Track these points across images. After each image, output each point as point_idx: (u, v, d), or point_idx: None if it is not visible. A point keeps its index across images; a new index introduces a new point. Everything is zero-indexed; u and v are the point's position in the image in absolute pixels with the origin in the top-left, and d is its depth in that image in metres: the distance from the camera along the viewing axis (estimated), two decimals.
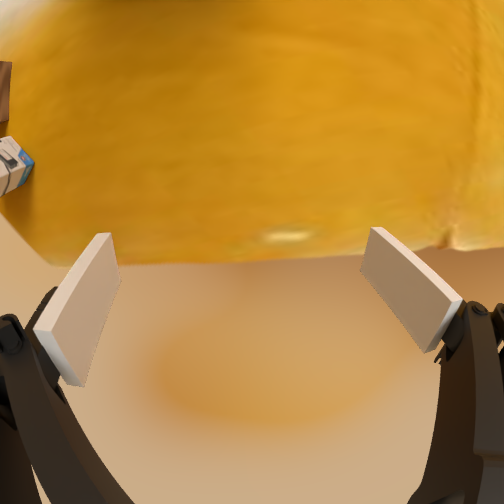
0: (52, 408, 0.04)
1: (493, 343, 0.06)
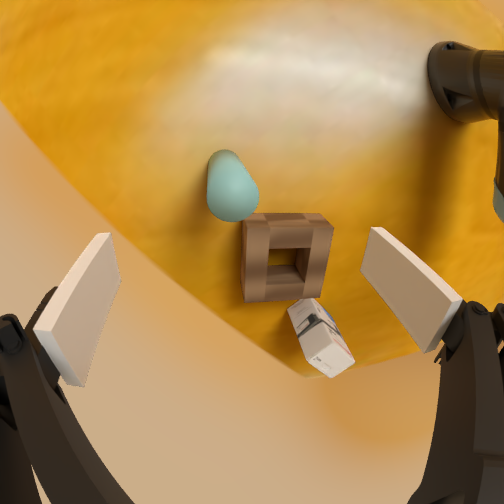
0: (52, 408, 0.04)
1: (493, 343, 0.06)
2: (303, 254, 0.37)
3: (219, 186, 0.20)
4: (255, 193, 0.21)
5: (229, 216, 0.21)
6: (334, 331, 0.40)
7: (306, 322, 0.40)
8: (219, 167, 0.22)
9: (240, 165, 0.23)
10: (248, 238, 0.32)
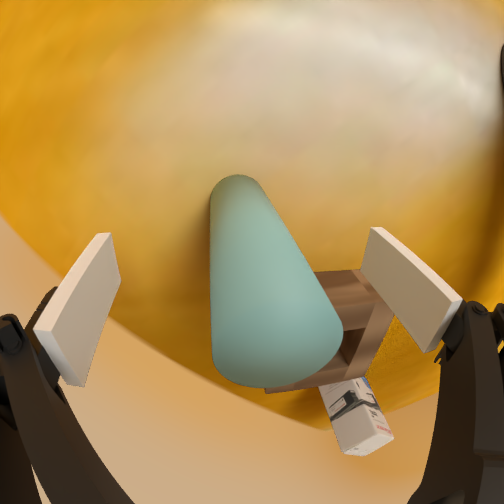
0: (52, 408, 0.04)
1: (493, 343, 0.06)
2: None
3: (246, 333, 0.07)
4: (335, 337, 0.08)
5: (267, 380, 0.08)
6: (374, 408, 0.27)
7: (342, 402, 0.27)
8: (238, 249, 0.09)
9: (285, 236, 0.11)
10: None
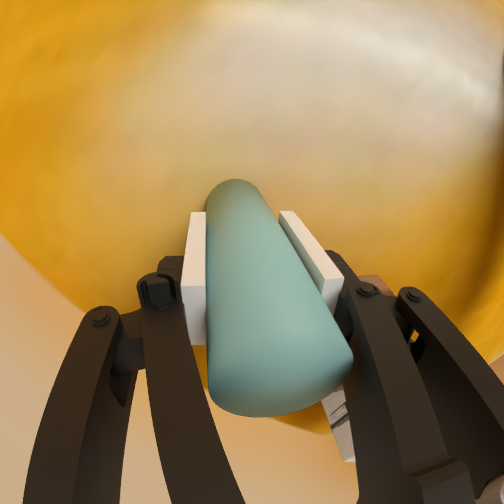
0: (198, 373, 0.06)
1: (394, 327, 0.07)
2: None
3: (246, 369, 0.06)
4: (344, 367, 0.07)
5: (269, 411, 0.07)
6: None
7: (343, 410, 0.26)
8: (236, 268, 0.08)
9: (287, 252, 0.10)
10: None
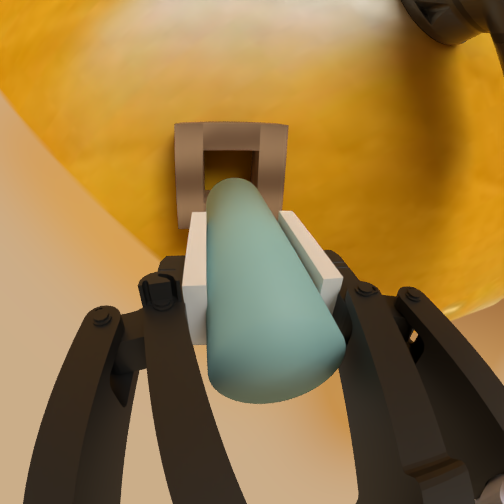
0: (199, 373, 0.06)
1: (393, 327, 0.07)
2: (255, 167, 0.28)
3: (243, 352, 0.07)
4: (337, 353, 0.07)
5: (266, 397, 0.08)
6: None
7: None
8: (235, 260, 0.09)
9: (283, 245, 0.10)
10: (176, 137, 0.24)
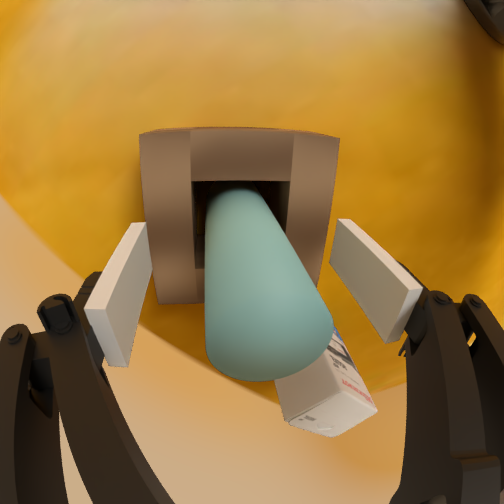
0: (100, 391, 0.05)
1: (460, 334, 0.06)
2: (279, 205, 0.18)
3: (238, 326, 0.07)
4: (325, 331, 0.08)
5: (260, 374, 0.09)
6: (342, 360, 0.20)
7: None
8: (231, 246, 0.10)
9: (277, 234, 0.11)
10: (143, 157, 0.13)
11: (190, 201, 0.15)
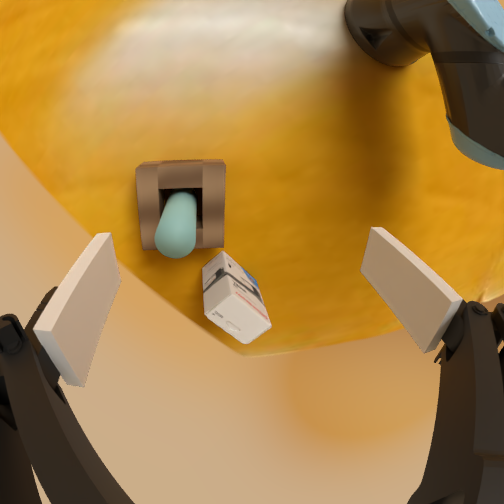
0: (52, 408, 0.04)
1: (493, 343, 0.06)
2: None
3: (163, 231, 0.24)
4: (192, 236, 0.25)
5: (173, 254, 0.26)
6: (245, 288, 0.37)
7: (213, 277, 0.38)
8: (167, 211, 0.27)
9: (185, 208, 0.28)
10: (137, 178, 0.30)
11: (158, 198, 0.32)
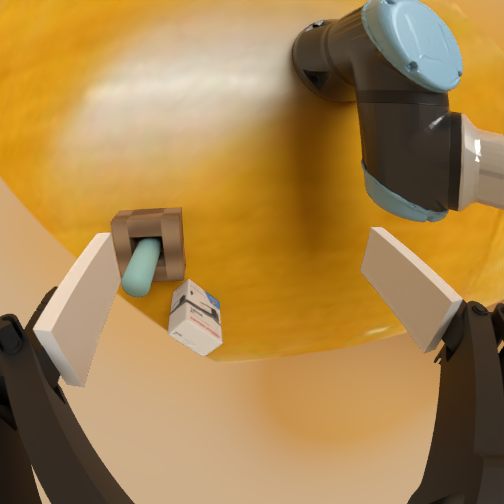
0: (52, 408, 0.04)
1: (493, 343, 0.06)
2: None
3: (126, 279, 0.33)
4: (147, 282, 0.33)
5: (135, 294, 0.34)
6: (202, 312, 0.45)
7: (178, 302, 0.46)
8: (131, 261, 0.35)
9: (145, 257, 0.36)
10: (112, 229, 0.38)
11: (129, 244, 0.40)
